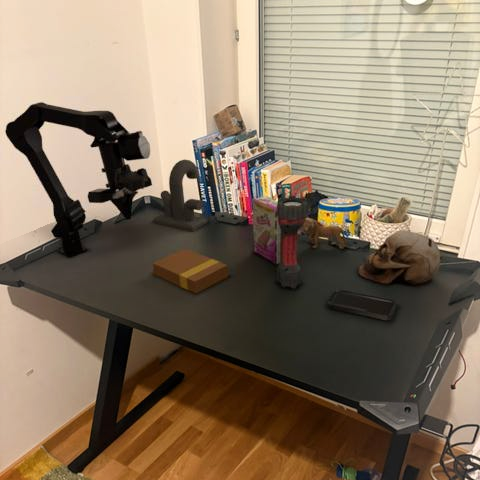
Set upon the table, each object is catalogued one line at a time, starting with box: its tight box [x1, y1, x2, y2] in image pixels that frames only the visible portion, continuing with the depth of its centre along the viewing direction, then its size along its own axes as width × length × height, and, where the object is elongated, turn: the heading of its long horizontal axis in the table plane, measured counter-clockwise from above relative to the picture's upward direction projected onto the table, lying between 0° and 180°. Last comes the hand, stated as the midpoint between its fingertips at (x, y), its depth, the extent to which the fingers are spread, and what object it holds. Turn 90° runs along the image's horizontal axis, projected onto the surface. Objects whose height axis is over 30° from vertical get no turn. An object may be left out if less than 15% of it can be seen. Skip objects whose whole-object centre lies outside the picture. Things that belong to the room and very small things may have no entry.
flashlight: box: [276, 194, 309, 290], centre depth 121 cm, size 8×8×23 cm
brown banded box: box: [152, 248, 229, 294], centre depth 133 cm, size 4×12×17 cm
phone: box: [327, 289, 397, 321], centre depth 116 cm, size 8×1×15 cm
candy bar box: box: [251, 195, 281, 265], centre depth 137 cm, size 11×5×16 cm, turn 35°
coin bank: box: [358, 229, 441, 286], centre depth 125 cm, size 16×17×13 cm
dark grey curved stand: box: [152, 159, 208, 232], centre depth 164 cm, size 18×16×20 cm
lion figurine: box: [300, 217, 350, 250], centre depth 144 cm, size 15×5×9 cm, turn 87°
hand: (128, 219), depth 137 cm, fingers closed
